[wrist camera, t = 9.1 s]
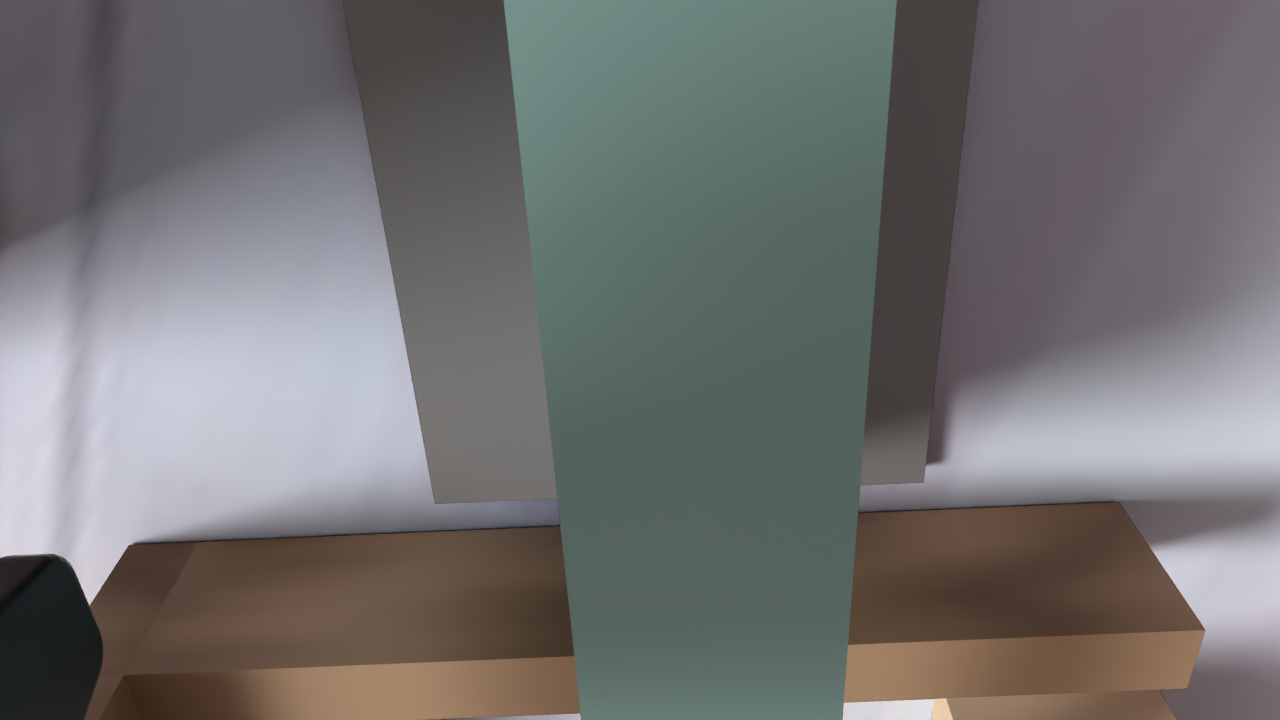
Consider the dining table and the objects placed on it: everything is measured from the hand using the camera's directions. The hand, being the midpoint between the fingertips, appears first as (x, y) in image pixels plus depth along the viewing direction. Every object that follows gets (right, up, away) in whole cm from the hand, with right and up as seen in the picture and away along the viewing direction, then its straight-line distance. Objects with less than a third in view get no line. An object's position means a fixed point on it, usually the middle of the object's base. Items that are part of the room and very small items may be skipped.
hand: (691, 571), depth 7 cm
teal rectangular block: (0, +4, +7) cm, 8 cm away
